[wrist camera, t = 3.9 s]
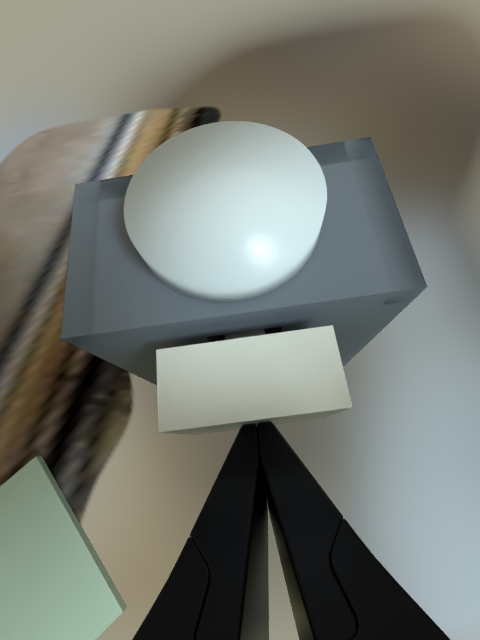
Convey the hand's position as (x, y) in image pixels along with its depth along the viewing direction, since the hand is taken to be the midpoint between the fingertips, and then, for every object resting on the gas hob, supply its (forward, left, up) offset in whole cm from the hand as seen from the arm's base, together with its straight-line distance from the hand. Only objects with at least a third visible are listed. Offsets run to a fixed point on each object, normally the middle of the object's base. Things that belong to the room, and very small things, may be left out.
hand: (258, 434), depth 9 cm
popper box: (+4, -3, -7) cm, 9 cm away
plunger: (+3, -2, -2) cm, 4 cm away
